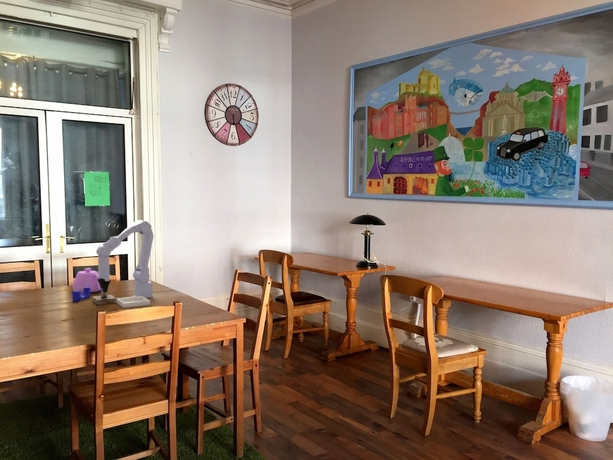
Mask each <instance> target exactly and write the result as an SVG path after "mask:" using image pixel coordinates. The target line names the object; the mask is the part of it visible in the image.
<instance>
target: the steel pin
mask: <svg viewBox="0 0 613 460" xmlns="http://www.w3.org/2000/svg"><path fill="white" fill-rule="evenodd" d="M107 295H108V292H107V293H103V291H101V296H102V298H107Z"/></svg>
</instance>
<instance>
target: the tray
mask: <svg viewBox="0 0 613 460" xmlns="http://www.w3.org/2000/svg"><path fill="white" fill-rule="evenodd" d="M116 304H117V305H119V306H120V307H121V308H123V309H128V308H136V307H137V308H138V307H145V306H146V307H147V306H151V300H150V299H148V298H145V297H143V296H136V297H133V296H125V297H118V298H117V297H116Z"/></svg>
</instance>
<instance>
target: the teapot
mask: <svg viewBox="0 0 613 460" xmlns="http://www.w3.org/2000/svg"><path fill="white" fill-rule="evenodd" d="M96 276H98V270H97V271H96V270H92V268H90V267H88V268H87V267H86V268H84V270H79V271H78V272H76V276H75V278H74V279H73V282H72V289H73V291H79V293H82V292H83V290H84V287H90V293H97V292H101V288H100V284H99V282H98V280H97V279H100V278H99V277H96Z"/></svg>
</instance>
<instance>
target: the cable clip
mask: <svg viewBox="0 0 613 460" xmlns="http://www.w3.org/2000/svg"><path fill="white" fill-rule="evenodd" d="M71 294H72V297H71V298H72V302H73V301H78V302H80V300H81V301H84V300H87V299H89V297H90V298H91V292H90V287H84V290H83V292H82V293H81V292H79V291H75V290H72V293H71ZM86 298H87V299H86ZM83 299H84V300H83Z"/></svg>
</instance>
